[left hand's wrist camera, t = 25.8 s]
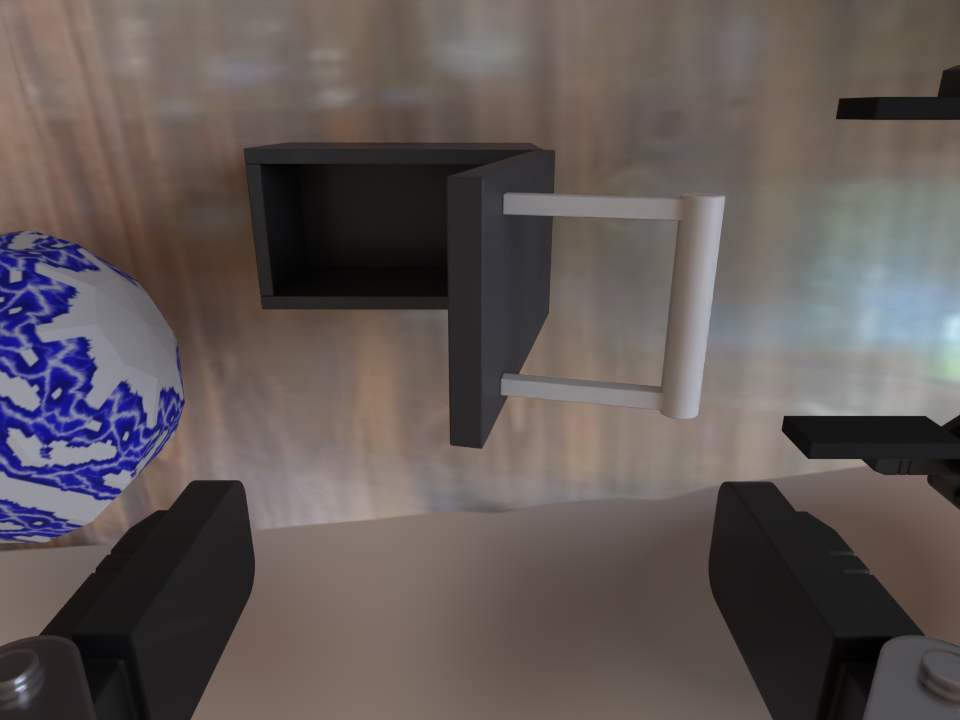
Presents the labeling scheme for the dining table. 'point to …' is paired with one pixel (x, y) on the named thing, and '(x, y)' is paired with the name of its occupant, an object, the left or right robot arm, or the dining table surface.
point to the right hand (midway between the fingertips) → (821, 286)
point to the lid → (526, 288)
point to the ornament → (76, 385)
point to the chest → (357, 221)
